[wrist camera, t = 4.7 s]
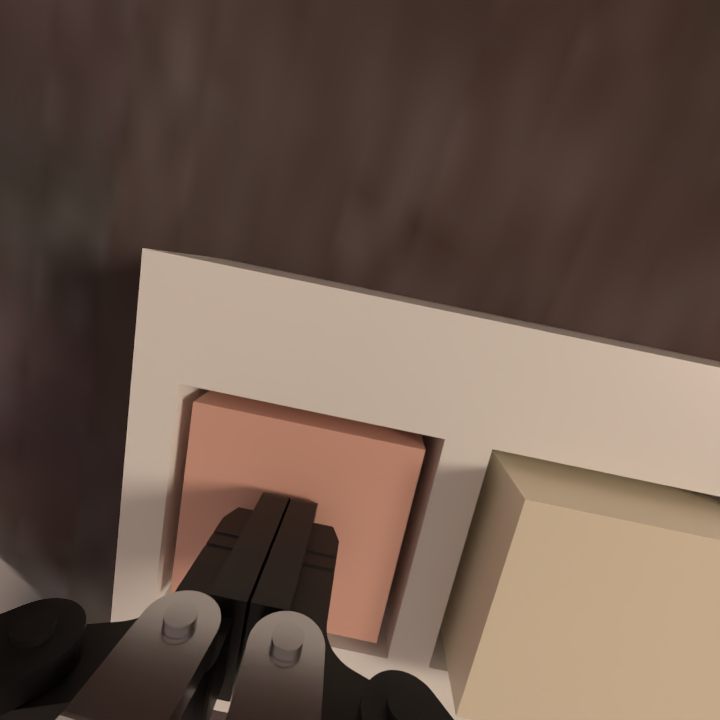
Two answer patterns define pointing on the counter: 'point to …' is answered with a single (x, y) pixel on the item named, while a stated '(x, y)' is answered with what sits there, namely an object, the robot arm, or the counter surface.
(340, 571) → the coral key
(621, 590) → the sand key
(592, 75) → the counter surface
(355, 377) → the keypad
